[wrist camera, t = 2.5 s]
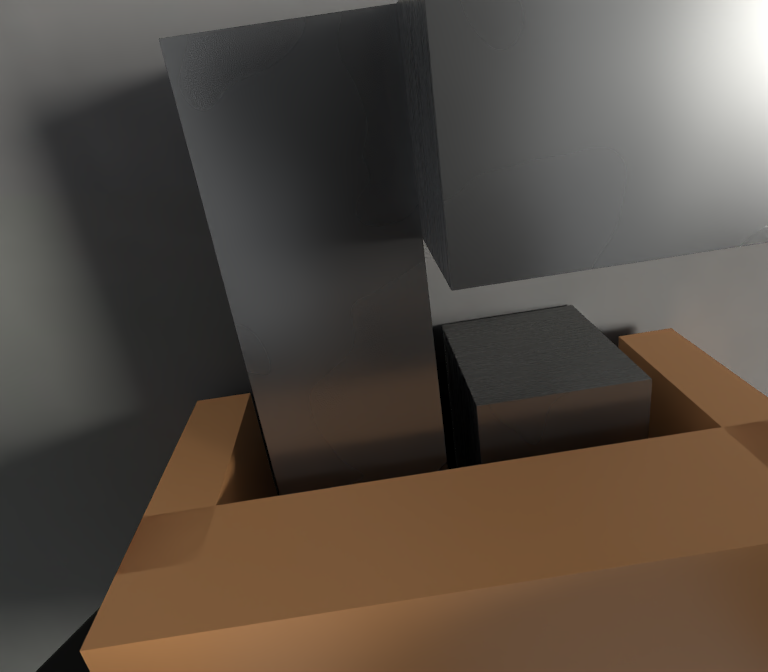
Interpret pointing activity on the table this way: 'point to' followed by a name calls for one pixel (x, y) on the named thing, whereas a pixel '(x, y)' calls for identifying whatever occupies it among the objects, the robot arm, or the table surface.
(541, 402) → the tongs fixed
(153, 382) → the table surface
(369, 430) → the arm
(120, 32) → the table surface
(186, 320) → the table surface
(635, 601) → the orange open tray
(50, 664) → the robot arm
